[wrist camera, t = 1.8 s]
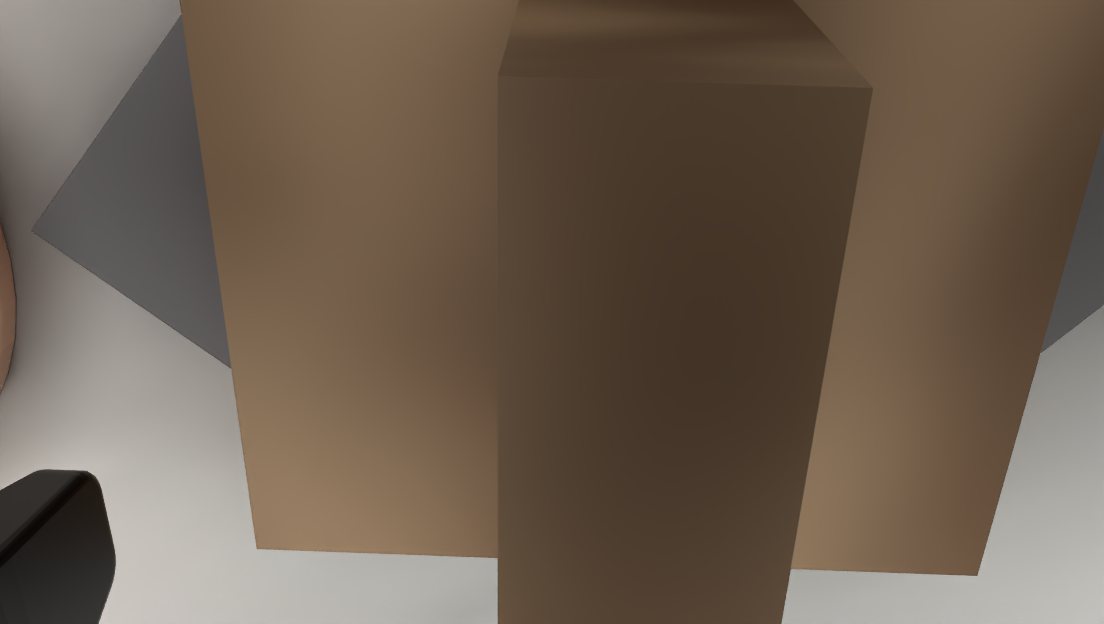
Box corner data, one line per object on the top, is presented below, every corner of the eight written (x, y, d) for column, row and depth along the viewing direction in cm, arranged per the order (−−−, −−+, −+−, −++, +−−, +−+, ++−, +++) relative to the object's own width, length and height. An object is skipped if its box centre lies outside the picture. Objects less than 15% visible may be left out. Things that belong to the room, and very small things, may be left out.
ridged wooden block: (1161, -247, 11) (1526, -257, 7) (956, 533, 17) (1091, 810, 12) (175, -273, 12) (-80, -300, 7) (274, 507, 17) (162, 773, 12)
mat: (1260, 159, 14) (1278, 169, 14) (645, 638, 18) (647, 655, 18) (610, -592, 10) (613, -606, 10) (44, 219, 15) (31, 231, 15)
